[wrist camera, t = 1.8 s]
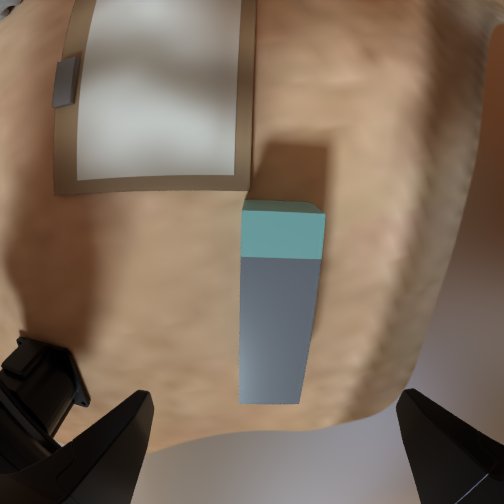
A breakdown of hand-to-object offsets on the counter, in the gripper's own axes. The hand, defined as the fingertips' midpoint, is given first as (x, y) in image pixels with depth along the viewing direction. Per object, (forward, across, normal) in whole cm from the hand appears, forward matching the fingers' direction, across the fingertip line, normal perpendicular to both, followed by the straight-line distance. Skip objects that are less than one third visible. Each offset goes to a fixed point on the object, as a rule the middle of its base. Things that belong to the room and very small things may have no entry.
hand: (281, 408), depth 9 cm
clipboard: (+9, +7, -13) cm, 17 cm away
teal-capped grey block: (+9, 0, 0) cm, 9 cm away
